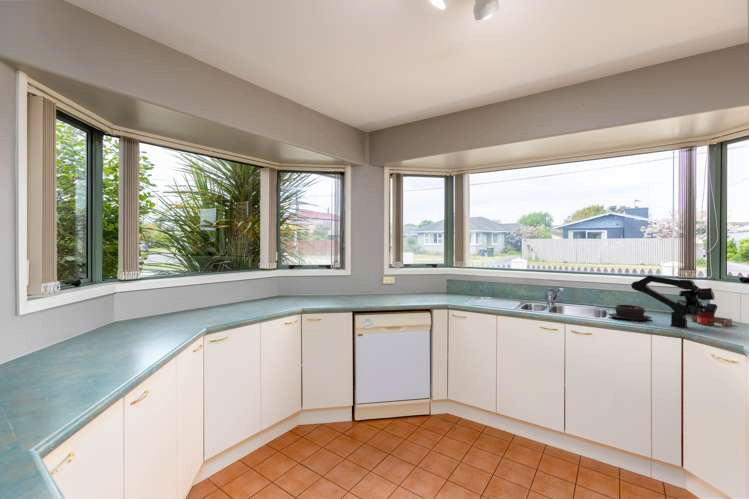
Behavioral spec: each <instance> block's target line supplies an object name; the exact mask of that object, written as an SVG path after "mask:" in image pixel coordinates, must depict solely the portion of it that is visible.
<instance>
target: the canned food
mask: <svg viewBox="0 0 749 499" xmlns="http://www.w3.org/2000/svg"><path fill="white" fill-rule="evenodd" d="M715 314H716V313H715ZM715 314H709V313H706V312H705V310H704V311H703V313H701V316H697V321H696V323H697V324H698V325H700V324H701V326H706V325H708V327H709V326H711V327H712V326H715V322H714V317H716V316H715Z"/></svg>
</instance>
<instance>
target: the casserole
mask: <svg viewBox="0 0 749 499" xmlns="http://www.w3.org/2000/svg"><path fill="white" fill-rule="evenodd" d="M614 310H615V312H613V313H612V312H611V313H608V316H609V317H613V318H618V319H622V320H626V321H642V320H648V319H652V318H653V317H652V316H649V315H646V314H645V313H646V310H645V308H644V307H643V306H639V305H633V304H617V305H616V306H615V307H614Z"/></svg>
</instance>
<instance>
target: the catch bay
mask: <svg viewBox="0 0 749 499" xmlns="http://www.w3.org/2000/svg"><path fill="white" fill-rule="evenodd" d="M691 322H693V323H694V322H697V316H691ZM714 323H717V324H721V327H722V328H724V327H729V326H732V325H733V320H732V318H727V317H720V316H718V317H717V316H714Z"/></svg>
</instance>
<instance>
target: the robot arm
mask: <svg viewBox="0 0 749 499" xmlns="http://www.w3.org/2000/svg"><path fill="white" fill-rule="evenodd" d="M650 283H657V284H664V285H669V286H673V287H677V288H679V289H682V290H679V292H678V297H684V299H678V300H677V301H675V300H673V299H671V298H669V297H668V296H665V295H663V294H662V293H660V292H658V291H656V290H654V289H652V288H650V286H648V285H649V284H650ZM631 289H633V290H634V291H638V292H640V293H643V294H645V295H648V296H650V297H651V298H653V299H654V300H657V301H659V302H660V303H663V304H664V305H666V306H667V307H669V308H670V309H671V310H673V311H672V312H671V313H670V314H671V315H670V316H671V317H670V318H671V319H670V320H671V321H670V322H671V323H670V324H669V326H671V327H676V328H681V329H682V328H687V327H688V319H687V317H686V316H688V317H689V316H690V317H692V316H701V313H703V311H704V310H705V312H706V313H709V314H716V312H717V309H718V305H717V304H715V303H707V304H706V305H705V303H702V301H711V300H713V301H714V300H715V293H714V291H713V289H712V287H708V288H700V287H699V286H698V285H697V284H696V283H695V282H694V280H692V279H676V278H670V277H669V278H668V277H661V276H656V275H652V274H649V275H647V276H645V277H644V278H641V279H640V280H637V281H633V282H631Z"/></svg>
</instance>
